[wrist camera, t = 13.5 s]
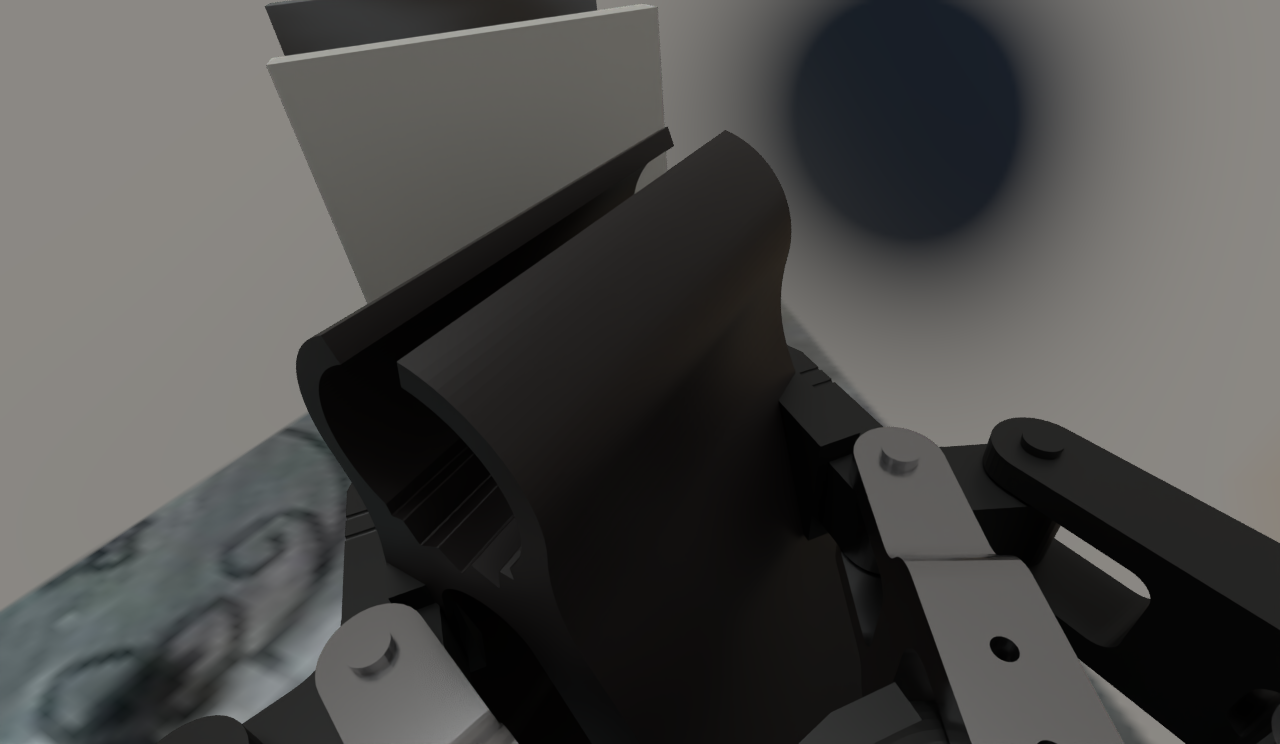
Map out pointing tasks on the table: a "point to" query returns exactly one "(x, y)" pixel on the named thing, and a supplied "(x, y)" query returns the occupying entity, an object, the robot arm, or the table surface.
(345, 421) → the phone stand
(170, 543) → the table surface
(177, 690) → the table surface
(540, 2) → the grey bookend
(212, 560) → the table surface
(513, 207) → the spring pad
